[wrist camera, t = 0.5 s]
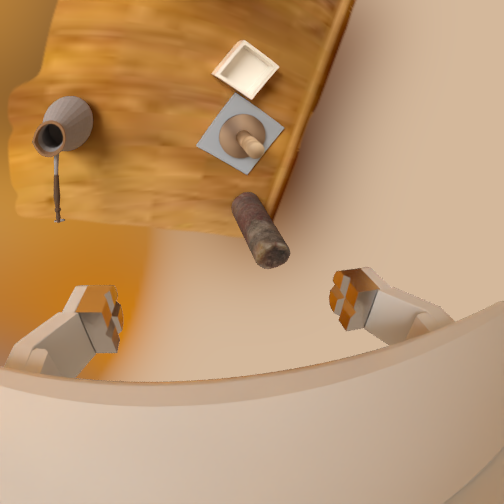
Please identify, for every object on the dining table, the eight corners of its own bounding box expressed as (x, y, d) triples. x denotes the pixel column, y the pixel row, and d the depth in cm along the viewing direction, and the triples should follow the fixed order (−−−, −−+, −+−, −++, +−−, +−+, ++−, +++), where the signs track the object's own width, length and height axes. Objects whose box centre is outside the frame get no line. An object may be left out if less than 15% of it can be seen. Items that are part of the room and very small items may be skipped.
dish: (238, 40, 41) (244, 39, 38) (272, 65, 46) (279, 66, 43) (211, 73, 44) (214, 75, 41) (246, 96, 49) (251, 99, 47)
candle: (261, 212, 71) (291, 264, 56) (234, 221, 70) (258, 276, 56) (256, 187, 65) (289, 237, 51) (227, 196, 64) (252, 250, 50)
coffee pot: (46, 98, 35) (13, 115, 24) (97, 90, 38) (74, 102, 28) (55, 189, 48) (33, 228, 37) (99, 185, 52) (86, 223, 41)
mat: (235, 92, 48) (235, 92, 48) (283, 127, 56) (284, 127, 56) (196, 145, 54) (196, 146, 53) (246, 173, 62) (247, 174, 61)
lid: (237, 105, 50) (252, 115, 43) (272, 129, 56) (291, 144, 48) (209, 142, 54) (218, 159, 46) (245, 164, 59) (259, 183, 52)
